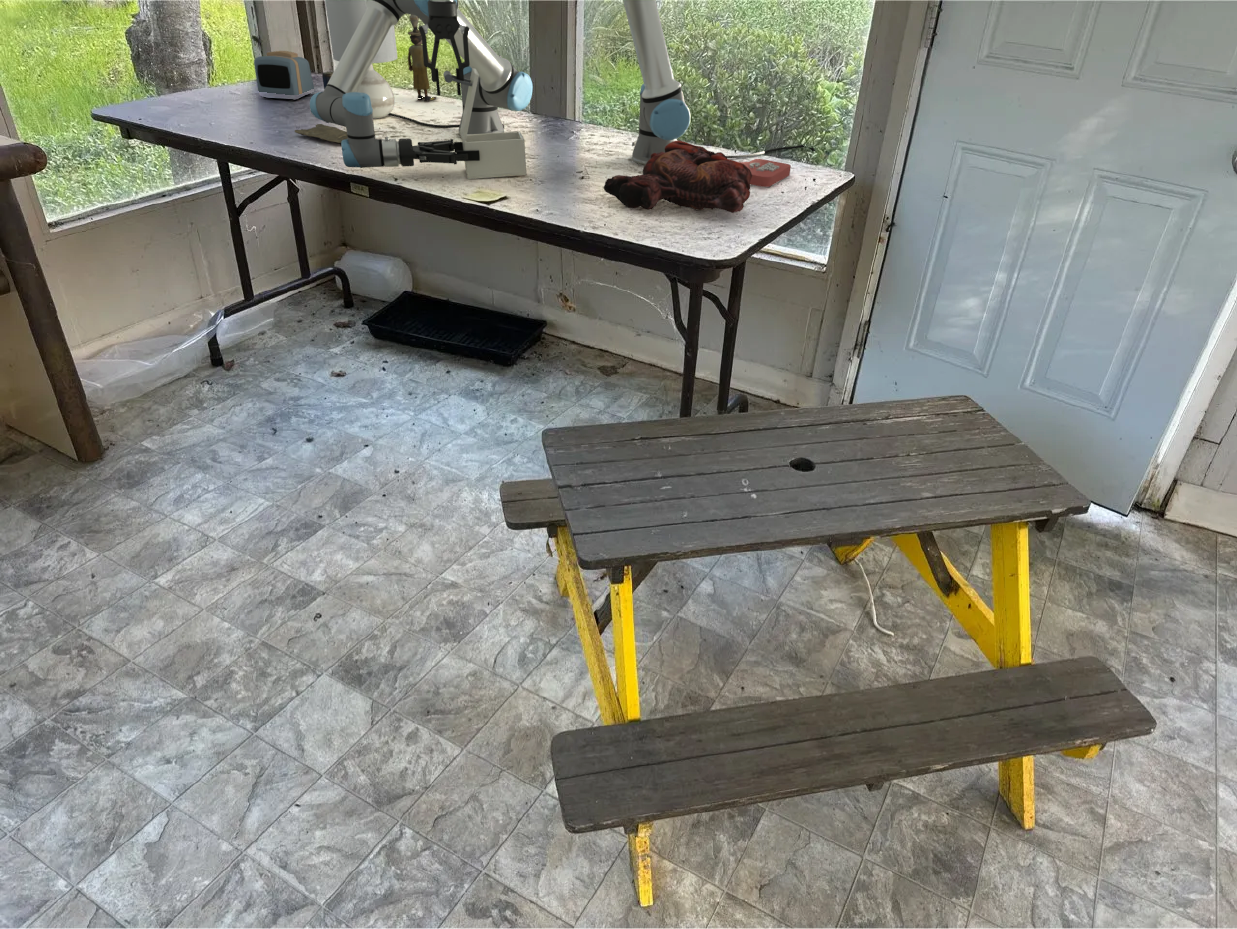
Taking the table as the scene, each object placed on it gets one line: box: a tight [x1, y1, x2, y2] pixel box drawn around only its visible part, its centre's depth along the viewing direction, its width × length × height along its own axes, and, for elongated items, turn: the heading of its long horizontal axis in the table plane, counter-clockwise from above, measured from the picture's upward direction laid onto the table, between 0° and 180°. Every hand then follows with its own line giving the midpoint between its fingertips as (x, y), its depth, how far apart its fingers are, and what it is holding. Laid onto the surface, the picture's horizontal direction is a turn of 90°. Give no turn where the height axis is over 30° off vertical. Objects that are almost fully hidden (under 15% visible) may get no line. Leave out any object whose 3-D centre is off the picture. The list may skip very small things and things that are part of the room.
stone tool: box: [294, 123, 348, 144], centre depth 277 cm, size 11×3×25 cm
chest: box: [461, 130, 528, 180], centre depth 248 cm, size 17×9×10 cm, turn 103°
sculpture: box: [603, 139, 752, 214], centre depth 228 cm, size 43×30×13 cm
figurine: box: [407, 14, 437, 102], centre depth 324 cm, size 11×9×30 cm
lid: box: [443, 68, 479, 141], centre depth 238 cm, size 18×9×9 cm
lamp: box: [324, 0, 398, 120], centre depth 295 cm, size 22×22×40 cm
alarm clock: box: [253, 50, 315, 95], centre depth 326 cm, size 16×16×16 cm
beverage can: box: [321, 71, 334, 90], centre depth 314 cm, size 9×8×12 cm
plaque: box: [739, 158, 792, 188], centre depth 254 cm, size 18×4×15 cm
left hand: (478, 150), depth 246 cm, fingers closed on chest, 9 cm apart
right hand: (449, 94), depth 236 cm, fingers open, 5 cm apart
